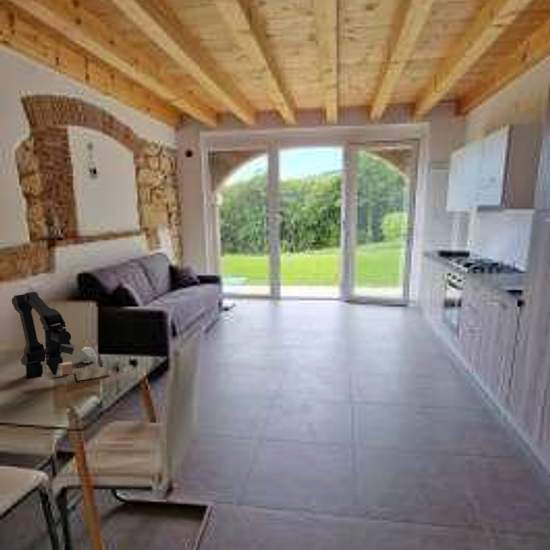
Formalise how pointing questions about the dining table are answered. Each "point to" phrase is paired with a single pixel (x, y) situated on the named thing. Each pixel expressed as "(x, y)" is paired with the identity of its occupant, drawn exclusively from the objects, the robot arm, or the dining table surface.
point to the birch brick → (50, 374)
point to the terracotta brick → (66, 367)
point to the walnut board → (92, 373)
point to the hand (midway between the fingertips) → (54, 373)
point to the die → (86, 355)
